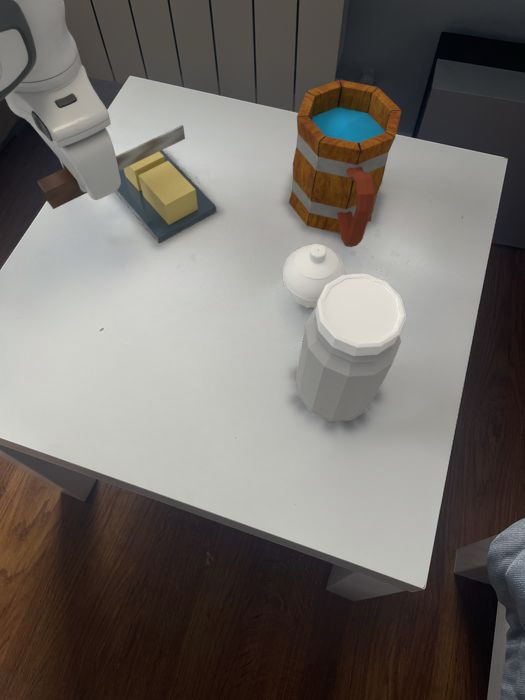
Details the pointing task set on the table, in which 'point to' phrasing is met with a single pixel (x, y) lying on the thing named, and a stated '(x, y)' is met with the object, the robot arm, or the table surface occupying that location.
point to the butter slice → (142, 168)
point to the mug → (342, 156)
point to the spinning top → (311, 273)
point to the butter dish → (152, 217)
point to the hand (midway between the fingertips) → (79, 178)
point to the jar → (349, 346)
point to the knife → (63, 183)
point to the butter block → (168, 192)
